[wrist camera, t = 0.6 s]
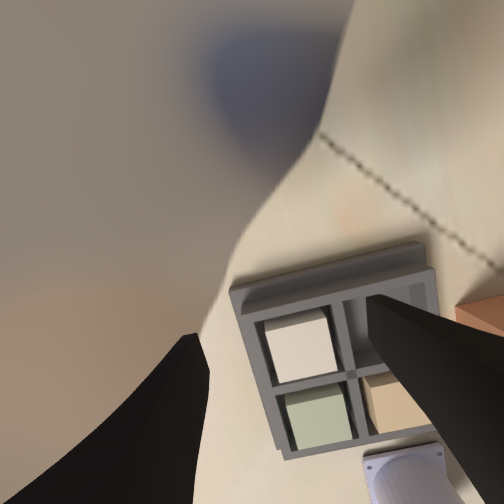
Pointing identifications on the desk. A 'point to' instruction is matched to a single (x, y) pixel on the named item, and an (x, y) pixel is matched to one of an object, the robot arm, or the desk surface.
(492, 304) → the terracotta block
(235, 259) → the desk surface
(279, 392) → the frame board
